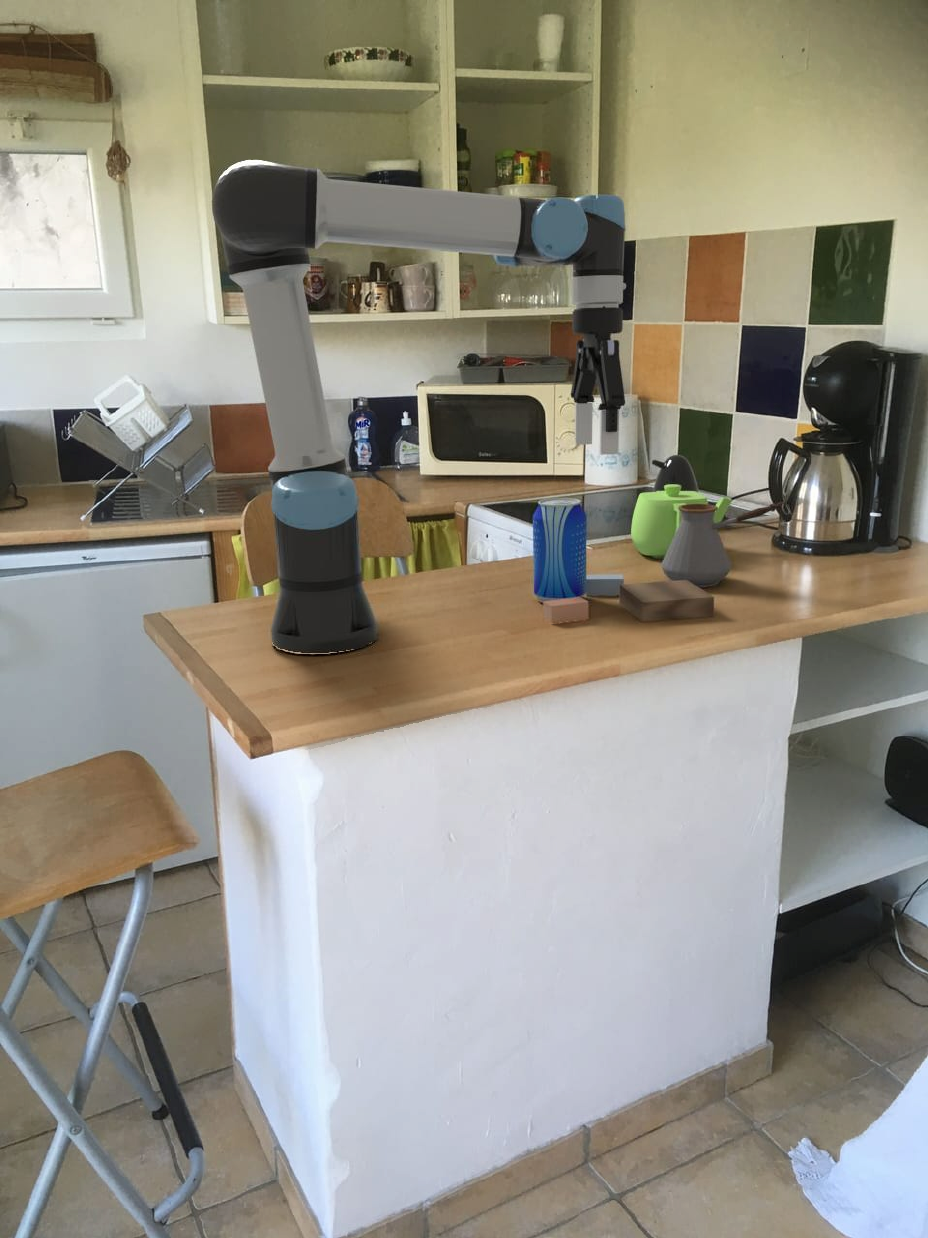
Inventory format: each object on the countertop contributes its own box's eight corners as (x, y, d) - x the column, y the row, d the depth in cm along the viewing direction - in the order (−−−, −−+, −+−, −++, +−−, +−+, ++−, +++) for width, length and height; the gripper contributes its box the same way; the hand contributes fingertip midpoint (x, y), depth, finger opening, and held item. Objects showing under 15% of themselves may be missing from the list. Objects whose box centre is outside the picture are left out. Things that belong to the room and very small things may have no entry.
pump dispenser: (643, 522, 223) (645, 453, 219) (690, 520, 224) (692, 450, 220) (657, 531, 214) (659, 458, 209) (705, 529, 215) (708, 456, 210)
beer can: (579, 608, 159) (580, 506, 154) (527, 605, 161) (526, 505, 157) (591, 594, 166) (591, 497, 162) (541, 592, 169) (540, 496, 164)
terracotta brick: (551, 625, 151) (551, 606, 150) (543, 620, 154) (543, 601, 153) (588, 620, 153) (588, 601, 152) (579, 615, 155) (579, 596, 155)
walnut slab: (642, 621, 150) (643, 602, 150) (619, 603, 161) (619, 584, 160) (713, 616, 152) (714, 596, 151) (685, 597, 162) (686, 579, 162)
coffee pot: (648, 584, 172) (649, 496, 167) (681, 571, 180) (684, 486, 176) (768, 603, 158) (773, 507, 154) (798, 587, 166) (804, 496, 162)
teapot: (715, 540, 204) (717, 475, 200) (745, 562, 185) (748, 491, 181) (623, 543, 203) (624, 478, 200) (644, 566, 184) (645, 494, 181)
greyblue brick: (586, 597, 166) (586, 579, 165) (585, 592, 169) (585, 574, 168) (623, 596, 165) (623, 578, 164) (622, 592, 168) (622, 574, 167)
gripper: (650, 304, 142) (645, 457, 148) (597, 307, 165) (595, 439, 171) (598, 305, 141) (595, 459, 146) (552, 308, 164) (552, 441, 170)
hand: (595, 449), depth 159 cm, fingers open, 13 cm apart
